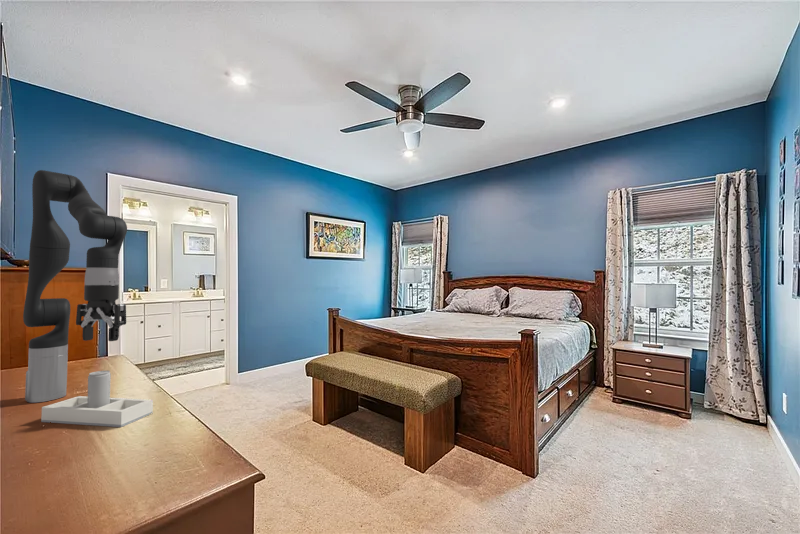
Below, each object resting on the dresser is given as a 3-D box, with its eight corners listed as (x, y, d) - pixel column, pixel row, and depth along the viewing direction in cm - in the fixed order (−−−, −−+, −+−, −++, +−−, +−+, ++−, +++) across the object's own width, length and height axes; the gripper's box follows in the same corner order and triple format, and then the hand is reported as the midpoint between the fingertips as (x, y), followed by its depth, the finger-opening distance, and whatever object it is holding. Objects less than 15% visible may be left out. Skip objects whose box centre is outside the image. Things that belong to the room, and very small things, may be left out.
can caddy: (41, 421, 94) (41, 407, 95) (78, 409, 104) (78, 396, 104) (121, 427, 90) (121, 411, 90) (152, 413, 99) (152, 399, 100)
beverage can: (114, 412, 99) (115, 370, 100) (97, 418, 94) (99, 374, 95) (98, 411, 100) (100, 370, 100) (82, 418, 95) (83, 374, 96)
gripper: (67, 284, 96) (65, 342, 95) (110, 283, 94) (108, 343, 93) (94, 284, 104) (93, 338, 103) (135, 283, 101) (134, 338, 101)
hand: (100, 340), depth 98 cm, fingers open, 8 cm apart
